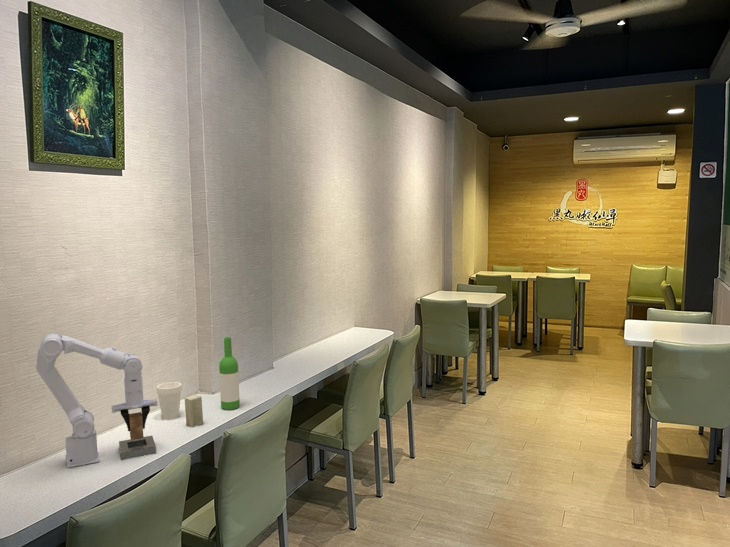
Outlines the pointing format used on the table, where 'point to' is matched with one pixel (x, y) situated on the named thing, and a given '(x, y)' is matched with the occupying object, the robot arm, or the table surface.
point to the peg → (136, 426)
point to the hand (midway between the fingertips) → (136, 429)
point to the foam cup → (169, 399)
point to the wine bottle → (229, 378)
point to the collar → (137, 447)
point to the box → (193, 410)
